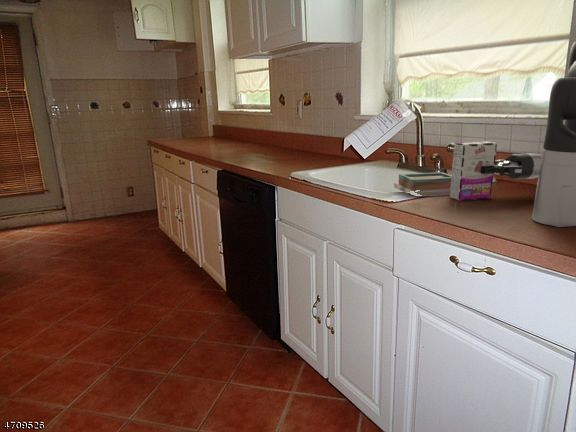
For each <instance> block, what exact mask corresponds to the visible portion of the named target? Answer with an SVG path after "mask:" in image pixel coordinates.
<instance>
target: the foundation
mask: <svg viewBox="0 0 576 432" xmlns="http://www.w3.org/2000/svg"><path fill="white" fill-rule="evenodd" d="M451 175H452V174H448V173H445V172H443V171H442V172H420V173H417V172H416V173H399V175H398V182H394V185H393V188H394V189H396V190H399V191H401V192H403V193H405V192H410V191H414V192H415V191H416V190H420V191H418V192H415V193H417V194H420V195H422V197H436V196H450V187H451Z"/></svg>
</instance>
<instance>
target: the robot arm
mask: <svg viewBox="0 0 576 432" xmlns="http://www.w3.org/2000/svg"><path fill="white" fill-rule="evenodd" d="M567 67H568V68H567V75H566V77H559V78H557V79H556V80H555V81H554V82H553V84H552V87H551V90H550V95H549V102H548V114H547V115H548V116H547V123H546V130H545V136H544V142H543V147H542V153H533V152H532V153H513V154H509V155H508V156H507V157H506V158H505V159H498V160H497V159H495V165H494V166H481V171H480V173H481V174H493V175H498V176H500V177H501V176H502V177H503V176H506V177H507V178H508V179H510V180H526V179H527V180H529V179H536V178H538V179H537V184H536V191H535V197H534V202H533V209H532V216H531V220H533V221H534V222H536V223H539V224H543V225H547V226H553V227H556V228H564V227H565V228H566V227H567V228H568V227H576V40H575V41H574V42H573V43H572V45H571V48H570V52H569V55H568V66H567Z"/></svg>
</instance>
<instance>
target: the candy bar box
mask: <svg viewBox="0 0 576 432" xmlns="http://www.w3.org/2000/svg"><path fill="white" fill-rule="evenodd" d="M497 147H498V143H497V142H493V141H488V140H486V141H470V142H469V141H468V142H454V144H453V155H452V164H451V165H452V167H451V168H452V169H451V174H450V175H451V187H450V195H449V198H451V199H453V200H455V201H459V202H463V201H471V200H472V201H473V200H485V199H492V198H491V197H492V192H493V191H492V189H493V180H494V174H481V173H480V171H481V166H494V165H495V160H496V156H497Z"/></svg>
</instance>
